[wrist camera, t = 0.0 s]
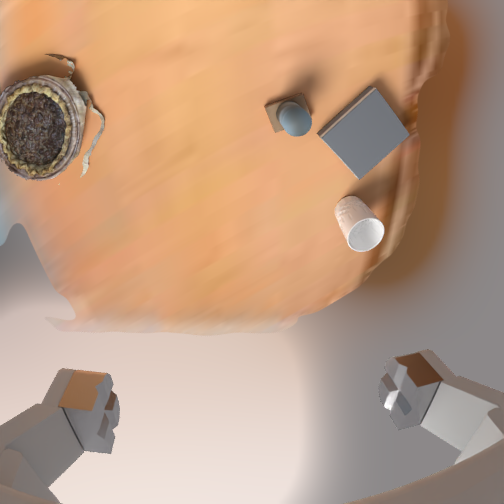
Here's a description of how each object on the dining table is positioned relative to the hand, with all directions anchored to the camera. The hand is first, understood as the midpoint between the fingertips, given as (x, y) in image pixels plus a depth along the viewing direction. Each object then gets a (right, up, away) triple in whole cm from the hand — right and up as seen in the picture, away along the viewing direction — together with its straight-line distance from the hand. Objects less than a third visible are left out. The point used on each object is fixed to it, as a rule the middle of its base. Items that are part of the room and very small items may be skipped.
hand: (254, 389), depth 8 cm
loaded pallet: (+6, +29, +45) cm, 54 cm away
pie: (-40, +29, +40) cm, 63 cm away
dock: (+21, +27, +48) cm, 59 cm away
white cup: (+21, +13, +59) cm, 64 cm away
